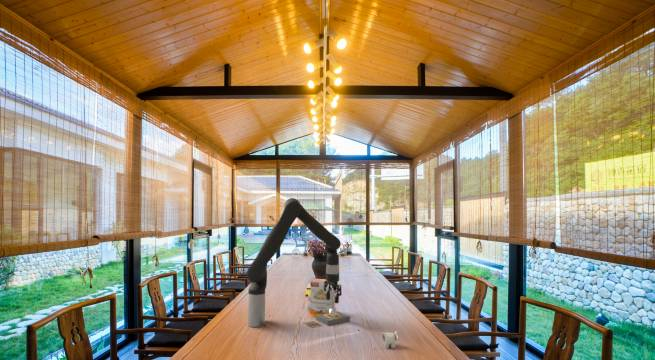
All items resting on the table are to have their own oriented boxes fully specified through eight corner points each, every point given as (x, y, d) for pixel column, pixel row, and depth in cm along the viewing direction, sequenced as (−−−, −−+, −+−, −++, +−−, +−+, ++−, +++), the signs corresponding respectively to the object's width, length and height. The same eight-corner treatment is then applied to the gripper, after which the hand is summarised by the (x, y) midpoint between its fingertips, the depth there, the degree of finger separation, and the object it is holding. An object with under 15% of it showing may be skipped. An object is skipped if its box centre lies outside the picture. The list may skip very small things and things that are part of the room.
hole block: (315, 322, 210) (315, 315, 210) (337, 318, 218) (337, 310, 218) (327, 328, 200) (327, 320, 200) (349, 323, 208) (349, 315, 208)
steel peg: (327, 322, 210) (327, 308, 210) (333, 321, 212) (333, 307, 212) (331, 324, 206) (331, 310, 207) (337, 323, 208) (337, 309, 209)
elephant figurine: (394, 342, 180) (394, 327, 180) (399, 350, 170) (399, 334, 171) (379, 342, 179) (379, 327, 180) (382, 350, 170) (382, 334, 170)
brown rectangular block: (302, 325, 204) (302, 323, 204) (313, 323, 208) (313, 321, 208) (312, 331, 196) (312, 328, 196) (323, 328, 200) (323, 325, 200)
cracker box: (310, 315, 225) (310, 280, 226) (313, 312, 230) (313, 278, 232) (332, 317, 220) (332, 281, 222) (335, 314, 226) (334, 279, 228)
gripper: (320, 271, 215) (320, 299, 214) (334, 275, 203) (334, 305, 202) (331, 269, 219) (330, 297, 218) (345, 273, 207) (345, 303, 206)
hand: (332, 301), depth 210 cm, fingers open, 8 cm apart
